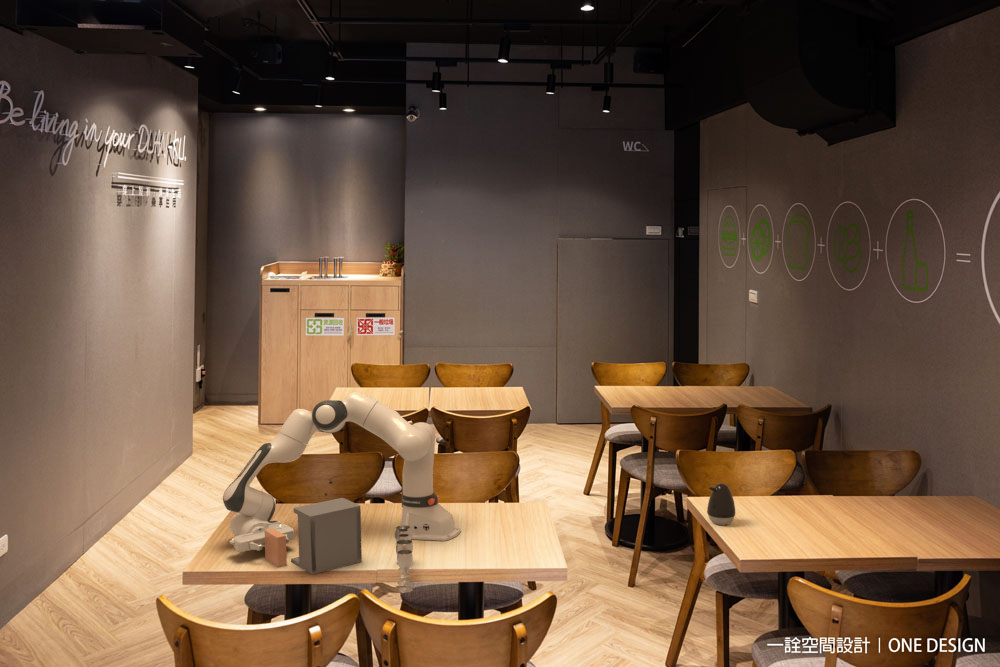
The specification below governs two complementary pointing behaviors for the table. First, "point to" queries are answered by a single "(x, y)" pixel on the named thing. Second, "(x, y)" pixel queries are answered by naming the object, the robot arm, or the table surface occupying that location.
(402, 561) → the goblet set
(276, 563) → the tile panel
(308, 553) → the overhang dock
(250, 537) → the robot arm
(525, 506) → the table surface
